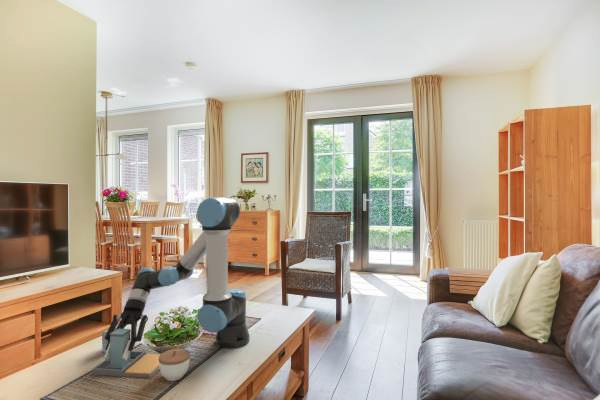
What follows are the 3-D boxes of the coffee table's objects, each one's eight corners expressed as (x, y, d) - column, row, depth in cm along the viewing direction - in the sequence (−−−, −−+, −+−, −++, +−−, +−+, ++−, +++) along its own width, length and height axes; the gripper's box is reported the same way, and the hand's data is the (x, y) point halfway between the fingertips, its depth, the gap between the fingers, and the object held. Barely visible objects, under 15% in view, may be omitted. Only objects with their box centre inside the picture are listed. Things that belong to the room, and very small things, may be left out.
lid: (171, 357, 137) (171, 354, 137) (151, 377, 122) (151, 374, 122) (145, 356, 138) (145, 353, 138) (122, 376, 123) (122, 372, 123)
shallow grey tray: (146, 356, 138) (146, 351, 138) (123, 376, 123) (123, 370, 123) (118, 355, 139) (118, 350, 139) (91, 374, 124) (92, 369, 124)
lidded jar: (158, 387, 116) (158, 359, 116) (158, 372, 126) (158, 346, 126) (191, 380, 120) (191, 354, 120) (188, 366, 130) (188, 342, 130)
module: (130, 362, 133) (130, 329, 133) (122, 368, 128) (122, 334, 128) (118, 361, 134) (118, 328, 134) (109, 368, 129) (110, 333, 129)
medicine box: (111, 353, 140) (111, 332, 140) (101, 352, 141) (101, 331, 141) (124, 345, 148) (124, 325, 148) (115, 344, 149) (115, 324, 149)
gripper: (161, 306, 146) (143, 363, 130) (117, 306, 146) (94, 362, 130) (156, 298, 141) (137, 355, 125) (110, 297, 141) (85, 355, 125)
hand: (115, 359), depth 127 cm, fingers open, 6 cm apart
